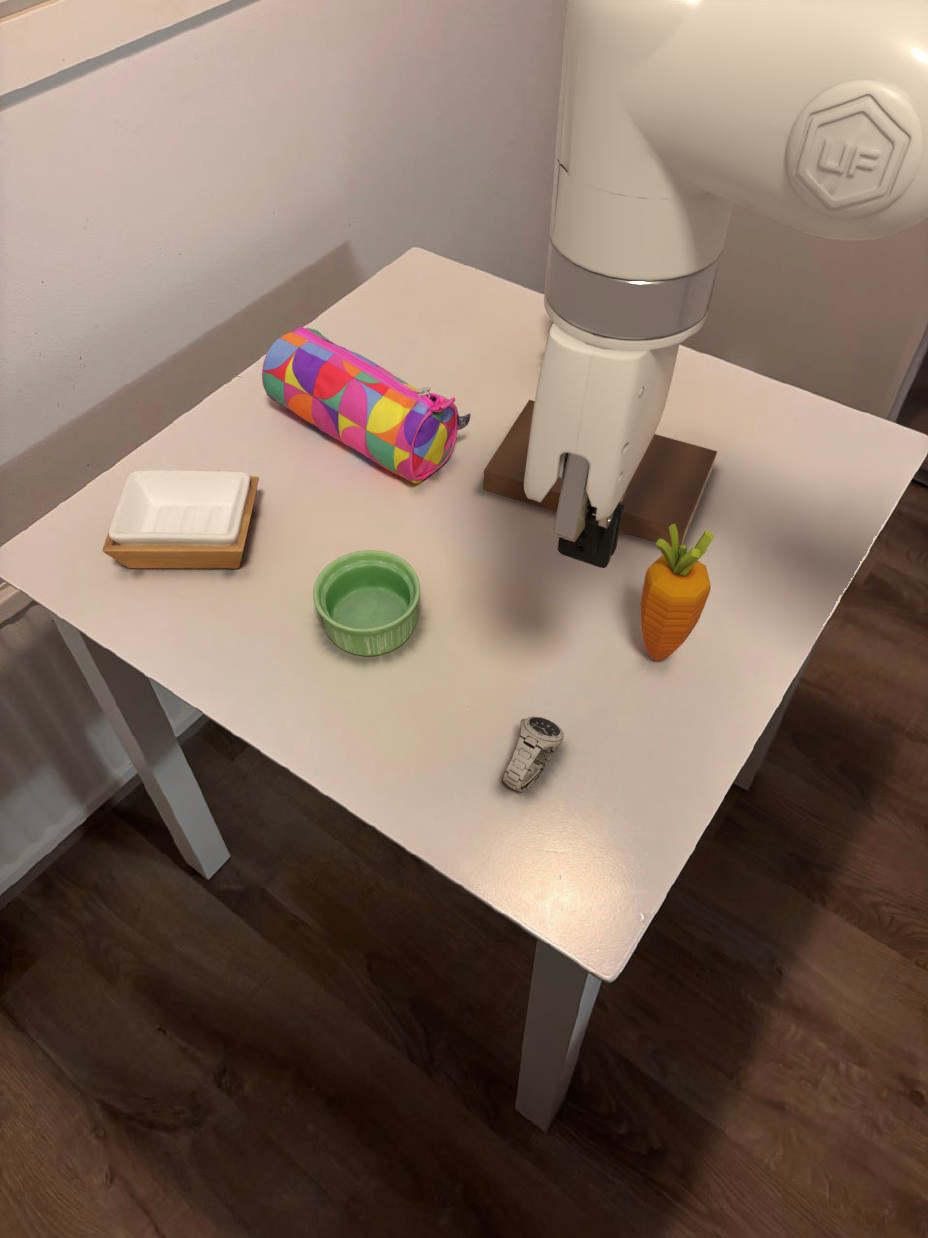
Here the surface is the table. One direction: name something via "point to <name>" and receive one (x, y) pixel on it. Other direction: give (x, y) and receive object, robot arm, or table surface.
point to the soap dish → (182, 519)
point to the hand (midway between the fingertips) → (586, 552)
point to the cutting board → (652, 496)
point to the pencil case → (362, 404)
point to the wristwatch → (532, 752)
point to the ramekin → (368, 601)
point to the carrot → (673, 595)
